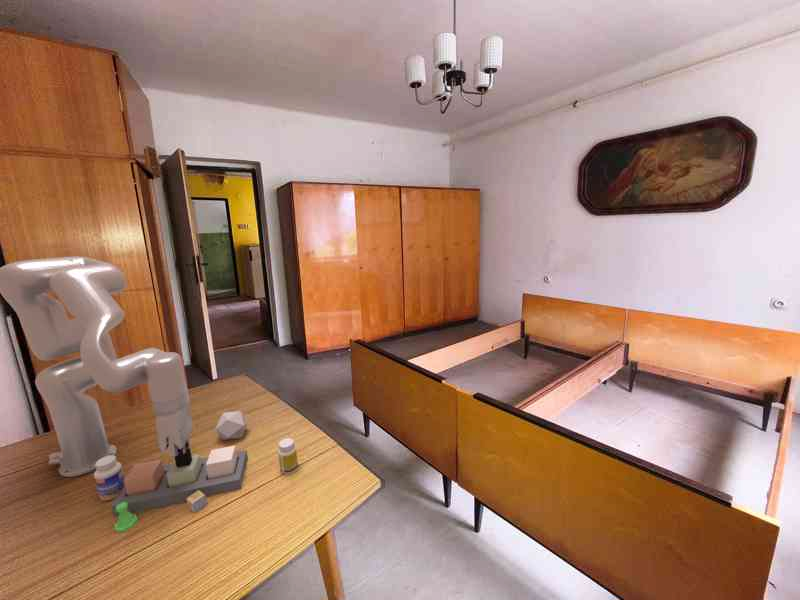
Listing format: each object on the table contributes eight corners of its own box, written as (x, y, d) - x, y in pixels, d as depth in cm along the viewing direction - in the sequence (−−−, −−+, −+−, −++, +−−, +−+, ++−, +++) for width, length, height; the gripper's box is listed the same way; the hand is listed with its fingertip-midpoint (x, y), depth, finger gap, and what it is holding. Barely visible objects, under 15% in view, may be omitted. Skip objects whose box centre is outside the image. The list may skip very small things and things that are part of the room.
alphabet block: (194, 513, 79) (192, 503, 78) (188, 508, 81) (186, 497, 80) (207, 504, 82) (205, 494, 81) (200, 499, 83) (199, 489, 83)
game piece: (111, 535, 74) (105, 514, 72) (118, 520, 78) (112, 499, 76) (134, 528, 76) (129, 507, 74) (140, 513, 79) (135, 493, 78)
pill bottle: (96, 504, 82) (87, 471, 80) (103, 489, 87) (94, 457, 85) (124, 495, 85) (115, 463, 82) (129, 481, 89) (121, 450, 87)
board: (113, 517, 79) (110, 506, 78) (136, 480, 90) (134, 471, 89) (240, 488, 86) (239, 479, 86) (247, 458, 97) (246, 449, 97)
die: (232, 450, 102) (249, 419, 104) (205, 437, 101) (223, 407, 103) (240, 442, 111) (256, 414, 113) (215, 430, 110) (231, 402, 112)
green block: (169, 491, 84) (166, 474, 83) (178, 474, 90) (174, 458, 88) (196, 485, 86) (193, 469, 85) (202, 469, 91) (199, 454, 90)
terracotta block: (127, 497, 81) (123, 481, 80) (138, 480, 87) (135, 464, 86) (155, 492, 83) (152, 475, 82) (165, 475, 89) (161, 459, 87)
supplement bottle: (301, 465, 94) (298, 439, 92) (289, 476, 90) (286, 450, 88) (288, 460, 96) (285, 435, 94) (276, 471, 92) (273, 445, 90)
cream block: (208, 480, 86) (205, 464, 85) (214, 465, 92) (211, 449, 91) (233, 475, 88) (231, 459, 87) (237, 460, 94) (235, 445, 92)
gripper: (165, 390, 88) (178, 449, 92) (140, 421, 74) (156, 489, 78) (197, 385, 90) (208, 443, 94) (178, 415, 76) (192, 481, 80)
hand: (184, 464), depth 86 cm, fingers closed
